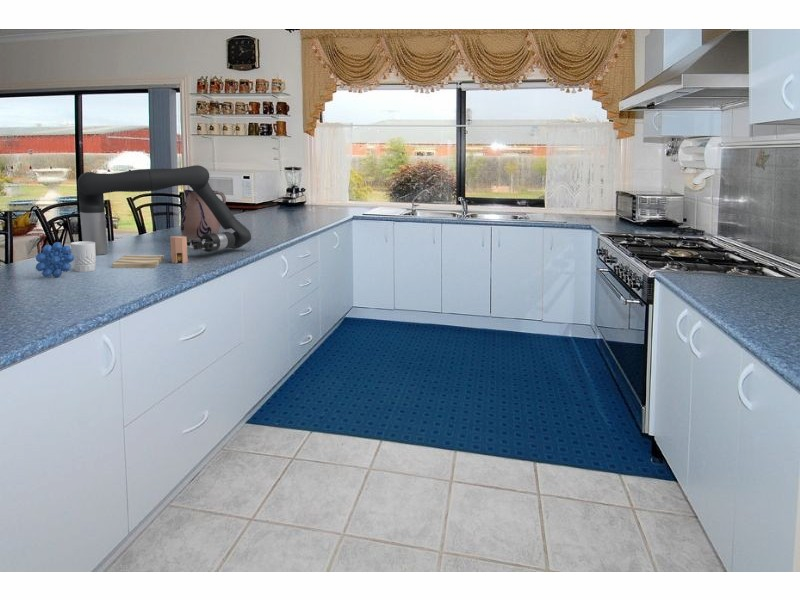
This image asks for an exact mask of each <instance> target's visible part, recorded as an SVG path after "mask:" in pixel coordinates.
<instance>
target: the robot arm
mask: <svg viewBox="0 0 800 600" xmlns="http://www.w3.org/2000/svg"><path fill="white" fill-rule="evenodd" d="M209 181H210V173H209V171H208V169H207V168H205V167H204V166H203V165H199V164H198V165H197V164H196V165H191V166H183V167H177V168H176V167H175V168H142V169H141V168H140V169H139V168H138V169H133V170H132V169H130V170H126V171H122V172H116V173H97V172H93V171H86V172H83V173H81V174H80V175H79V177H78V179H77V193H78V205H79V207H78V208H79V216H80V217H79V218H80V228H81V240H82V241H90V242H95V251H96V256H98V255H99V256H100V255H106V254H107V255H108V252H109V251H108V236H107V235H108V234H107V223H106V221H107V220H106V210H105V209H106V208H105V200H104V199H105V198H104V194H108V193H109V194H110V193H117V192H118V193H119V192H120V193H121V192H122V193H123V192H124V193H127V192H128V193H137V192H138V193H141V192H144V193H145V192H155V191H156V192H157V191H159V190H160V191H161V190H164V189H169V188H173V187H178V186H179V187H180V186H189V187H190V188H191V190H194V191H195V192H196V193H197V194H198V195H199V196H200V198H201V199H202V200H203V201H204V202H205V204H206V205H207V206H208V208H209V209H210V210H211V212H212V213H213V215H214V216H215V218H216V219H217V220H218V222H219V223H220V227H221V228H222V229H223V230H229V229H232V230H233V232H230V231H224V232H223V231H222V232H218V233H209V234H204V235H203V236H202V237H201V238H200V239H187V248H191V249H193V250H194V251H195V250H202V251H204V252H207V253H210V252H215V251H221V250H224V249H232V250H233V249H234V250H235V249H239V248H241V247H243V246H244V245H246V244H248V243H249V242H251V240H252V234H251V232H250V230H249V228H247V227H246V226H245V225H243V224H242V222H240V221H239V220H238V219H237V218H236V217H235V215H234V214H233V212H232V211H231V210H230V208H229V206H227V204H224V203H223V200H222V199H220V197H219V196H217V195H218V194H215V193H214V191H215V190H214V189H212V187H211V185H210V183H209Z"/></svg>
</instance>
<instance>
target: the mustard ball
mask: <svg viewBox="0 0 800 600" xmlns="http://www.w3.org/2000/svg"><path fill="white" fill-rule="evenodd" d="M177 263H182V254H177Z"/></svg>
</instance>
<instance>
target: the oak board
mask: <svg viewBox="0 0 800 600" xmlns="http://www.w3.org/2000/svg"><path fill="white" fill-rule="evenodd" d="M164 259H165V255H164V254H163V255H162V254H159V255H157V254H155V255H154V254H153V255H152V254H150V255H149V254H124V255H122V256H121V257H119V258H118V259H117V260H115V261H114V262H113V263H112V264H111V266H112V269H123V268H124V269H129V268H130V269H132V268H133V269H137V268H138V269H143V268H144V269H145V268H147V269H152V268H153V269H154V268H155V269H156V268H157V266H159V264H161V263H162V261H164Z"/></svg>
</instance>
